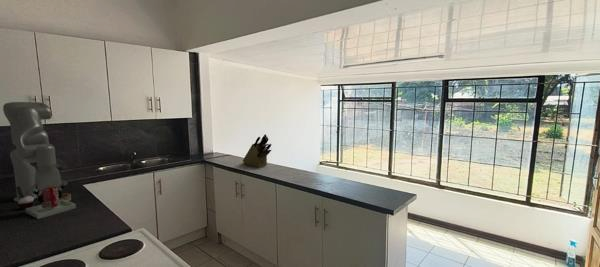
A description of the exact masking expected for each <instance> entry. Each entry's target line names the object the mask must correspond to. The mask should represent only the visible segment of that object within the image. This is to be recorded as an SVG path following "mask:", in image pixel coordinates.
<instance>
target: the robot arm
mask: <svg viewBox="0 0 600 267" xmlns="http://www.w3.org/2000/svg"><path fill="white" fill-rule="evenodd" d="M2 111H3V114H4V116H5V118H6V119H7V121H8V123H9V126H10V127H9V128H10V136H11V141H12V144H13V145H14V146H15V148H16V149H14V150H12V151H11V152H10V154H9V156H10V160H11V163H12V167H13V173H14V181H15V188H16V187H18V186H20V188H21V191H22V193H23V195H24V197H26V196H32V197H33V198H34V200H36V198H37V201H38V202H39V203H40V204H42V203H43V195H41V194H42V191H43V190H45V189H46V187H52V186H55V187H57V188H58V194H59V198H61V196H62V194H63V193H62V191H63V190H64V189H65V187H66V186H67V184H68V181H65V180H63V179H62V177H61V174H60V171H59V167H60V163H59V164H58V163H57V157H56V149H55V148H56V147H55V146H54V145H53V144H51V143H50V140H49V136H48V133H47V131H46V130H44V125H43V122H42V121H43V120H46V121H47V120H50V119H52V118H53V111H52V109H51V108H50V107H49V105H47V104H45V103H43V102H37V101H36V102H35V101H34V102H33V101H29V102H28V101H14V102H13V101H12V102H11V101H10V102H6V103H4V104H3V105H2ZM33 163H36V167H37V169H36V167H35V166H34V165H32V164H33ZM15 190H16V197H14V198H13V201H14V202H18V201H19V200H20V199H21V198H20V196H19V193H18V191H17V188H16V189H15Z"/></svg>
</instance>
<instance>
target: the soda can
mask: <svg viewBox="0 0 600 267" xmlns="http://www.w3.org/2000/svg"><path fill="white" fill-rule="evenodd" d="M41 195H43V203H41V205H42V208H45V209H51V208H55V207H57V206H58V205H59V194H58V188H57V187H55V186H52V187H46V189H45V190H43V191H42V194H41Z"/></svg>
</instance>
